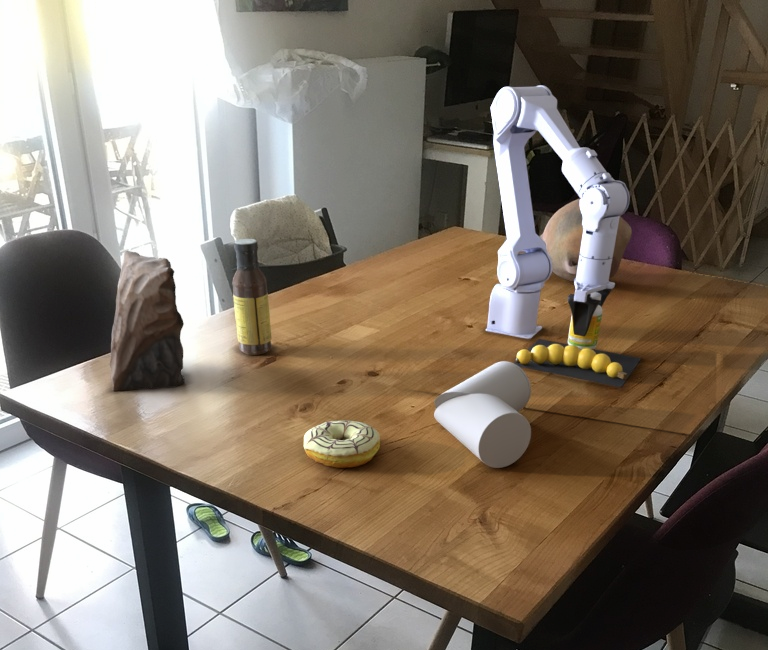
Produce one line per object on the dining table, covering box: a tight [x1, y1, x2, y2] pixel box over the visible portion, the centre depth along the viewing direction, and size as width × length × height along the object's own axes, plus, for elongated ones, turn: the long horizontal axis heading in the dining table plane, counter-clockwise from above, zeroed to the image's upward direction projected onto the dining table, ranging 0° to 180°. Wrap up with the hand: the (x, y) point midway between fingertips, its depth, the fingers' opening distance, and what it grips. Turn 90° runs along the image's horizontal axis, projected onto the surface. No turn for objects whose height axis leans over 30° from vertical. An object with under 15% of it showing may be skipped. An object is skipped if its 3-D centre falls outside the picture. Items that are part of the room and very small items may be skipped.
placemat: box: [513, 338, 642, 388], centre depth 149 cm, size 20×16×1 cm
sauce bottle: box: [232, 238, 272, 356], centre depth 145 cm, size 6×6×20 cm
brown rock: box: [109, 250, 186, 392], centre depth 133 cm, size 13×13×20 cm
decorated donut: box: [303, 420, 381, 469], centre depth 115 cm, size 10×11×4 cm
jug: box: [504, 197, 633, 283], centre depth 192 cm, size 20×20×30 cm
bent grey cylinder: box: [433, 360, 532, 469], centre depth 120 cm, size 18×11×20 cm
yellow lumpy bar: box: [514, 344, 627, 379], centre depth 144 cm, size 20×6×4 cm, turn 70°
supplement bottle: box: [567, 292, 604, 350], centre depth 148 cm, size 5×5×10 cm
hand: (584, 330), depth 149 cm, fingers closed on supplement bottle, 5 cm apart
